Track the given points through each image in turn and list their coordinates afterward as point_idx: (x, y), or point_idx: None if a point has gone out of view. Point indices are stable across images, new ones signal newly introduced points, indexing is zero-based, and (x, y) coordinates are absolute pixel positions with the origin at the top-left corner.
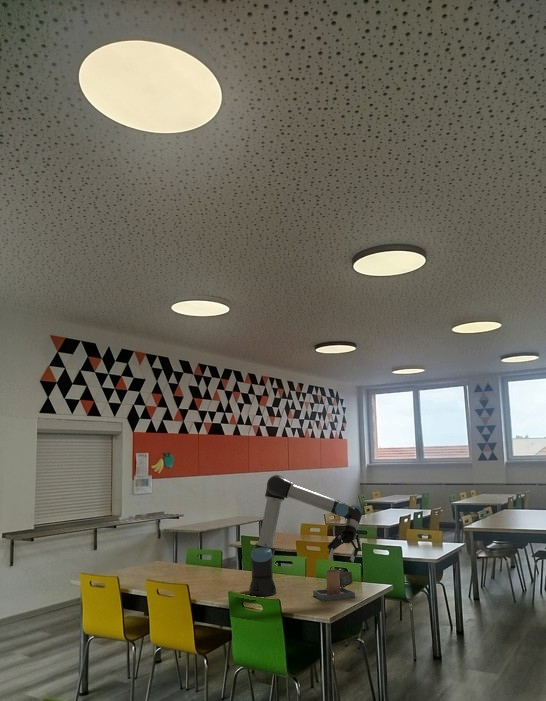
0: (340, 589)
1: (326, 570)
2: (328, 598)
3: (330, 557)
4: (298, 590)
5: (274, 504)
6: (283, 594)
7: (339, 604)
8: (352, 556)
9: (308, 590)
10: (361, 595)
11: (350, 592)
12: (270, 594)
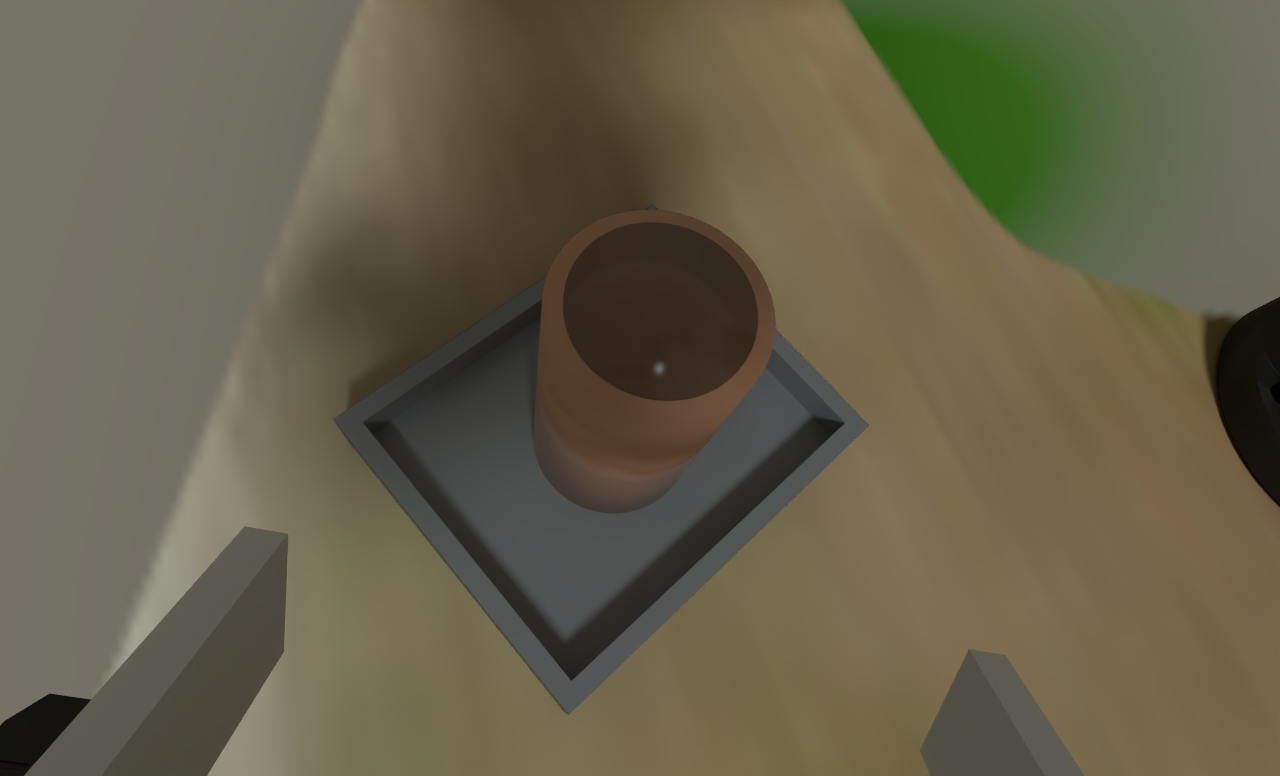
0: (595, 656)
1: (774, 321)
2: None
3: (973, 736)
4: (1145, 683)
5: None
6: (1149, 432)
7: (451, 129)
8: (185, 597)
9: None
10: None
11: (388, 401)
12: (1225, 351)
